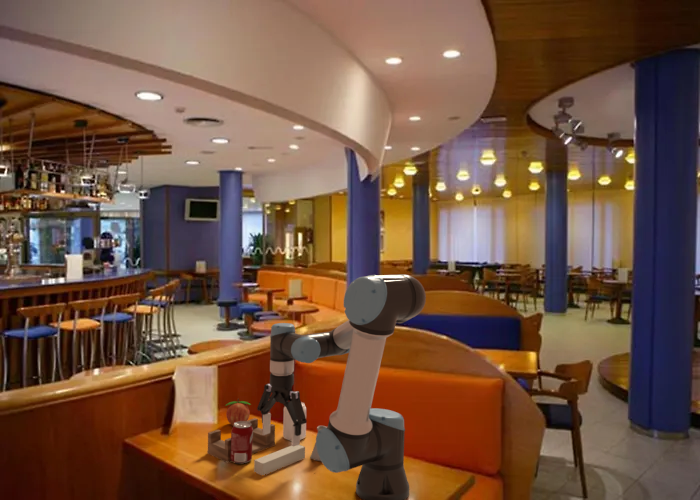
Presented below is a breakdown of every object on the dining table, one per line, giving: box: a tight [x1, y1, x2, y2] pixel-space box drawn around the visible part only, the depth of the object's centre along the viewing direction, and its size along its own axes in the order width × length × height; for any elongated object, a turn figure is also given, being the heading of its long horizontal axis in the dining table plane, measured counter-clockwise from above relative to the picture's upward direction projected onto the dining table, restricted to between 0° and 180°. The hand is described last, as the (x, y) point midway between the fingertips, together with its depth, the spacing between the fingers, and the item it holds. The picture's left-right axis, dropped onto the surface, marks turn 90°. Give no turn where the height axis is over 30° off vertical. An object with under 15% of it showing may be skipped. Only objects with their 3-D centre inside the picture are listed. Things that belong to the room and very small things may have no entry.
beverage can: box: [282, 401, 307, 442], centre depth 199 cm, size 8×8×12 cm
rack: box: [206, 417, 276, 464], centre depth 187 cm, size 20×11×7 cm, turn 140°
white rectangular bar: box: [253, 444, 306, 476], centre depth 175 cm, size 18×4×4 cm, turn 140°
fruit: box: [224, 398, 252, 427], centre depth 211 cm, size 9×10×10 cm
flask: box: [310, 425, 328, 462], centre depth 182 cm, size 7×7×10 cm
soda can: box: [230, 420, 253, 465], centre depth 177 cm, size 7×7×12 cm
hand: (280, 439), depth 175 cm, fingers open, 13 cm apart
